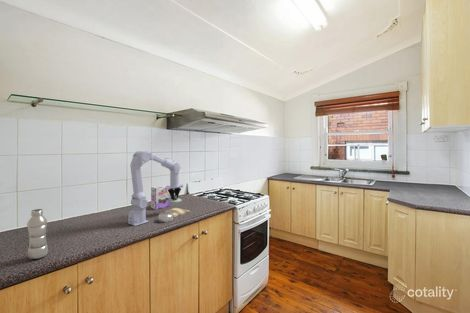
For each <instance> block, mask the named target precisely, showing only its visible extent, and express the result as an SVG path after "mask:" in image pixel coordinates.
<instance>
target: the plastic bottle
mask: <svg viewBox="0 0 470 313" xmlns="http://www.w3.org/2000/svg"><path fill="white" fill-rule="evenodd" d="M43 214H44V211H43V208H36V209H32V210H31V211H30V215H31V217H30V218H29V220H28V221H27V223H26V225H27V232H28V237H29V238H28V240H29V241H28V242H29V243H28V249H27V255H28V258H29V259H30V260H37V259H41V258H43V257H45V256H47V254H48V253H49V247H48V242H47V226H48V220H47V217H45V216H44V215H43Z"/></svg>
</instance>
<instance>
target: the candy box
mask: <svg viewBox="0 0 470 313" xmlns="http://www.w3.org/2000/svg"><path fill="white" fill-rule="evenodd" d="M168 186H169V185H167V184H164V185H157V186H151V187H150V191H151V192H150V209H152V210H156V211H157V210H159V209H164V208H169V207H171V203H169V202H168V200H169V199H171V196H170V193H169V192H168V190H165V187H168Z"/></svg>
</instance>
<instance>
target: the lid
mask: <svg viewBox="0 0 470 313" xmlns="http://www.w3.org/2000/svg"><path fill="white" fill-rule="evenodd" d="M168 202H169V203H170V204H178V203H181V202H182V199H181V198H179V197H178V198H177V195H175V194H174V199H171V198H170V199H169V200H168Z"/></svg>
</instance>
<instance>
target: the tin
mask: <svg viewBox="0 0 470 313" xmlns="http://www.w3.org/2000/svg"><path fill="white" fill-rule="evenodd" d="M157 217H158V222H159V223H161V224H167V223H172V222H173V221H174V217H173V213H169V212H166V213H161V214H159V213H158V216H157Z"/></svg>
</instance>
